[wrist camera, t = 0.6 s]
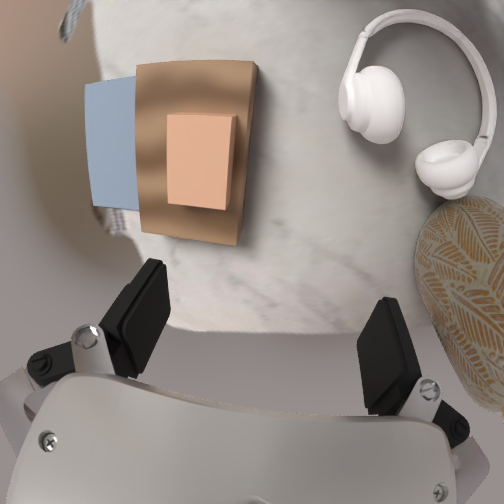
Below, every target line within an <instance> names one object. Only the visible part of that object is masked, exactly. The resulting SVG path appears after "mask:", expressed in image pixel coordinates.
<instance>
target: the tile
mask: <svg viewBox="0 0 504 504" xmlns="http://www.w3.org/2000/svg"><path fill="white" fill-rule="evenodd" d="M236 120H237V115H232V114H216V113H184V112H177V113H173V114H169V115H167V193H168V203H170V204H179V205H188V206H196V207H205V208H213V209H220V210H226V208H227V206H228V204H229V202H230V199H231V184H232V170H233V157H234V144H235V132H236Z"/></svg>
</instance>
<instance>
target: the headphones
mask: <svg viewBox="0 0 504 504" xmlns="http://www.w3.org/2000/svg"><path fill="white" fill-rule="evenodd" d="M402 22H412V23H419V24H423V25H427V26H430V27H432V28H434V29H437V30H439V31H441V32H442V33H444V34H446V35H447V36H448V37H450V38H451V39H452V40H454V41H455V42H456V44H457V45H458V46H459V47H460V48H461V49H462V51H463V52H464V53H465V55H466V56H467V58H468V60H469V62H470V63H471V65H472V67H473V69H474V72H475V74H476V76H477V79H478V82H479V86H480V90H481V95H482V105H483V113H482V122H481V127H480V131H479V134H478V136H477V137H476V140H475V142H474V145H473V146H472V145H471V144H470V143H469V142H467V141H464V140H448V141H443V142H439V143H437V144H434V145H432V146H430V147H428V148H426V149H425V150H423V151H422V152H421V153H419V155H418V156H417V157H416V161H415V168H416V173H417V175H418V176H419V178H420V180H421V181H422V182H423V183H424V184H425V185H426V186H428V187H430V188H431V190H432V191H433V192H434V193H435V194H436V195H439V196H442V197H444V198H445V199H458V198H461V197H463V196H465V195H466V194H467V193H468V192H469V190H470V189H471V188H472V187H473V185H474V183H475V177H476V175H477V173H478V171H479V168H480V166H481V164H482V162H483V160H484V158H485V156H486V153H487V151H488V150H489V148H490V146H491V141H492V139H493V136H494V132H495V128H496V120H497V104H496V96H495V90H494V86H493V82H492V79H491V76H490V73H489V71H488V68H487V66H486V64H485V62H484V60H483V58H482V56H481V55H480V53H479V52H478V50H477V49H476V47H475V46H474V45H473V44H472V43H471V41H470V40H469V39H468V38H467V37H466V36H465V35H464V34H463V33H462V32H461V31H460V30H459V29H457V28H456V27H455V26H454V25H452V24H451V23H450V22H448V21H447V20H445V19H443V18H441V17H439V16H437V15H434V14H431V13H429V12H425V11H421V10H415V9H400V10H394V11H390V12H387V13H385V14H382V15H380V16H379V17H377V18H375V19H374V20H373V21H371V22H370V23H369V24H368V25H367V26H366V27H365V28H364V29H363V31H362V32H361V33H360V35H359V36H358V38H357V39H356V42H355V47H354V50H353V52H352V55H351V57H350V60H349V63H348V65H347V68H346V70H345V73H344V76H343V78H342V81H341V84H340V88H339V97H338V100H339V111H340V115H341V118H342V119H343V120H344V121H347V123H348V125H349V127H350V128H351V129H352V130H354V131H356V132H360V133H361V134H362V136H363V137H364V138H365V139H367V140H369V141H371V142H373V143H377V144H388V143H390V142H392V141H393V140H395V139H396V138H397V137H398V136H399V134H400V132H401V130H402V127H403V123H404V117H405V97H404V91H403V88H402V85H401V82H400V80H399V78H398V77H397V76H396V75H395V74H394V73H393V72H392V71H391V70H390V69H388V68H385V67H382V66H369V67H366V68H364V69H363V70H361V71H360V73H355V72H356V69H357V67H358V64H359V61H360V58H361V56H362V53H363V50H364V48H365V45H366V42H367V39H368V37H369V36H370V37H371V36H373V35H374V34H375V33H377V32H378V31H379V30H381V29H382V28H384V27H386V26H389V25H392V24H396V23H402Z"/></svg>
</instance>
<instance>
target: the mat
mask: <svg viewBox="0 0 504 504" xmlns="http://www.w3.org/2000/svg"><path fill="white" fill-rule="evenodd" d="M135 87H136V76H133V77H126V78H119V79H113V80H107V81H101V82H96V83H91V84H86V85H85V128H86V144H87V157H88V168H89V176H90V184H91V191H92V199H93V205H94V206H103V207H112V208H122V209H131V210H139V201H138V189H137V175H136V155H135Z"/></svg>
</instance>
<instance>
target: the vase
mask: <svg viewBox="0 0 504 504" xmlns="http://www.w3.org/2000/svg"><path fill="white" fill-rule="evenodd" d="M414 267H415V278H416V282H417V287H418V290H419V292H420V295H421V297H422V300H423V302H424V305H425V307H426V309H427V312H428V314H429V317H430V319H431V321H432V323H433V326H434V328H435V330H436V332H437V335H438V337H439V339H440V341H441V343H442V346H443V348H444V350H445V352H446V354H447V356H448V358H449V360H450V363H451V365H452V367H453V369H454V370H455V372H456V374H457V376H458V378H459V380H460V382H461V383H462V385H463V387H464V389H465V390H466V392H467V393H468V395H469V396H470V397H471V398H472V399H473V401H474V402H475V403H476V404H477V405H479V406H480V407H482V408H483V409H485V410H487V411H490V412H494V413H501V414H502V419H503V423H504V207H502V206H501V205H499V204H498V203H496V202H495V201H493V200H490V199H488V198H485V197H480V196H463V197H461V198H458V199H450V200H448V201H446V202H445V203H443V204H442V205H440V206H439V207H438V208H437V209H435V210H434V211H433V212H432V214H431V215H430V216H429V217H428V219H427V220H426V222H425V223H424V225H423V227H422V229H421V231H420V233H419V236H418V240H417V244H416V251H415V261H414Z"/></svg>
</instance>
